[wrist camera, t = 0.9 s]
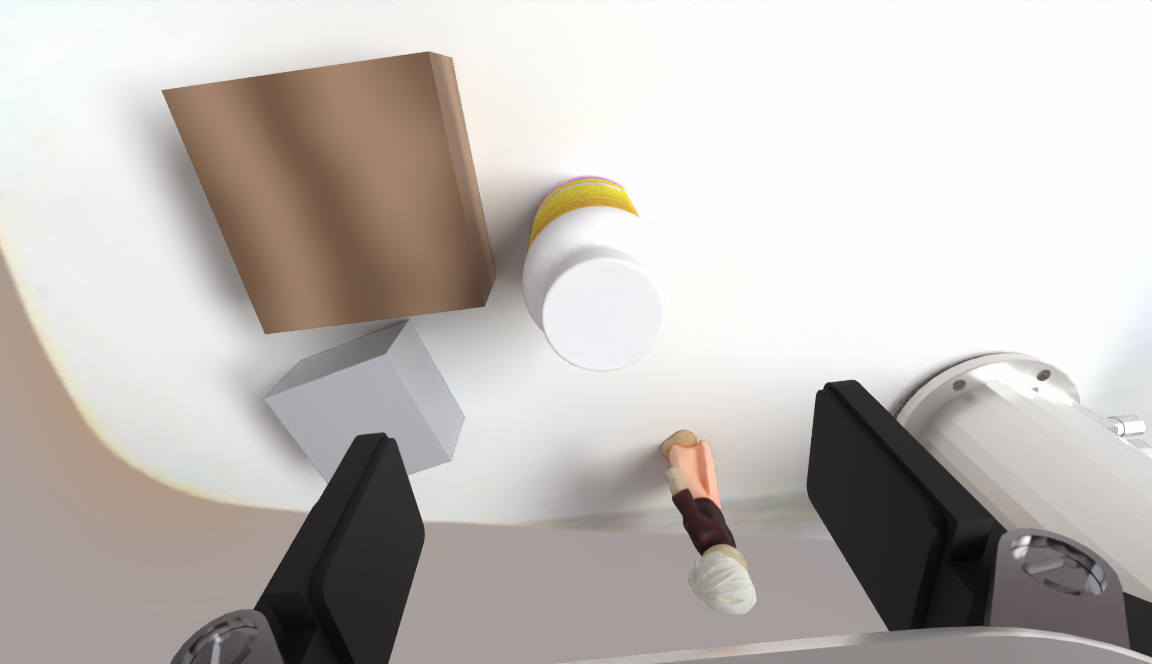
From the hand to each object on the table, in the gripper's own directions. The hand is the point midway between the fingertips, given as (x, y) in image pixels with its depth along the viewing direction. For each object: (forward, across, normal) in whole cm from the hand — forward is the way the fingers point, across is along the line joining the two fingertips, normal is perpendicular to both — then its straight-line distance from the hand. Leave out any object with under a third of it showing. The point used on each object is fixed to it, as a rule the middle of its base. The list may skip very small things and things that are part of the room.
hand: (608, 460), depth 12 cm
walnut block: (+22, +11, -3) cm, 25 cm away
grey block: (+22, +14, +10) cm, 28 cm away
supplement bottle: (+22, -1, 0) cm, 22 cm away
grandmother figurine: (+21, -6, +17) cm, 28 cm away
